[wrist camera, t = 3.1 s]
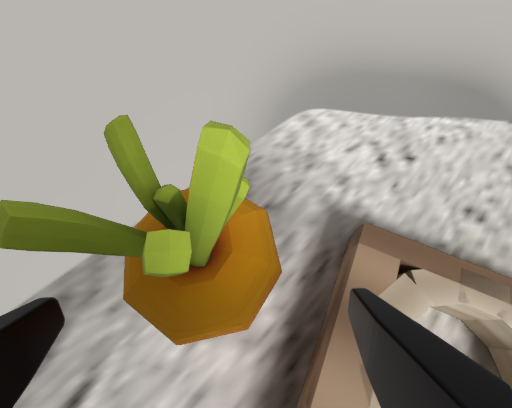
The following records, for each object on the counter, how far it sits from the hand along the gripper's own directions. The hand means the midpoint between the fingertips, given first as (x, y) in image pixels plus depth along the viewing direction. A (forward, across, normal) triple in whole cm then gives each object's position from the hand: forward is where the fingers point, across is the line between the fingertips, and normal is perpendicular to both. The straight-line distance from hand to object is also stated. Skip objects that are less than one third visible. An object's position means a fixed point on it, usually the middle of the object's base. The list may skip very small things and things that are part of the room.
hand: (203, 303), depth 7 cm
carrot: (+8, 0, +6) cm, 10 cm away
